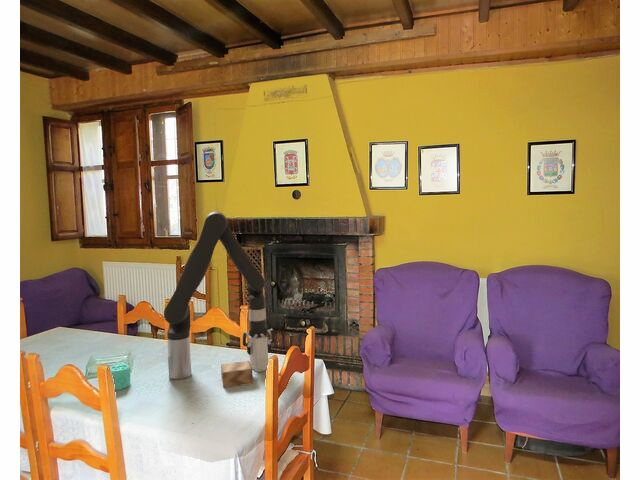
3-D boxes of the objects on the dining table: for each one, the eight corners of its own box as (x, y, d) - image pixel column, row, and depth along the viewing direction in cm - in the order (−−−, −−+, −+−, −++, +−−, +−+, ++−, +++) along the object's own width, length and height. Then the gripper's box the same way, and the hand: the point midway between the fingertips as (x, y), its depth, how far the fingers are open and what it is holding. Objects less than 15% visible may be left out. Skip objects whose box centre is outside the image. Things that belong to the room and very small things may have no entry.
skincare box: (269, 369, 188) (268, 337, 187) (256, 373, 185) (255, 340, 184) (261, 364, 195) (260, 332, 194) (249, 367, 192) (248, 335, 191)
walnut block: (223, 387, 171) (222, 372, 170) (221, 377, 181) (221, 363, 180) (252, 383, 175) (252, 368, 174) (249, 374, 184) (249, 360, 184)
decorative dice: (109, 384, 177) (108, 365, 176) (130, 380, 179) (129, 362, 179) (107, 391, 169) (106, 372, 168) (129, 388, 172) (128, 369, 171)
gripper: (242, 322, 182) (244, 358, 184) (274, 318, 187) (276, 353, 188) (240, 317, 190) (242, 352, 191) (271, 314, 194) (273, 348, 195)
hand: (259, 353), depth 189 cm, fingers open, 8 cm apart
